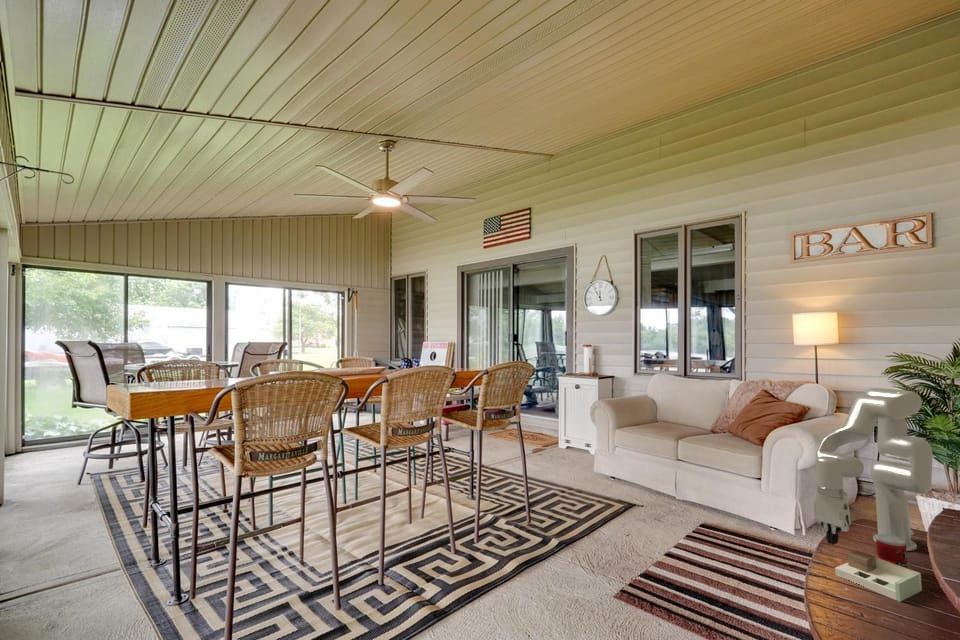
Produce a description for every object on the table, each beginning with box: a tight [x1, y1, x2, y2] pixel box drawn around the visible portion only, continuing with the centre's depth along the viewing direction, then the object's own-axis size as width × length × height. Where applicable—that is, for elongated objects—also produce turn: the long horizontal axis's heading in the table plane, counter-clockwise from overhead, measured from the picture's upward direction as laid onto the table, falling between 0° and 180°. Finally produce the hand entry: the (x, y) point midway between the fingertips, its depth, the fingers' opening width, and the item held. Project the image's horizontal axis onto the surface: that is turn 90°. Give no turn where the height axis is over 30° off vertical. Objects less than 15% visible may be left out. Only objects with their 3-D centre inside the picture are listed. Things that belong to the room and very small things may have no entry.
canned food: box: [875, 534, 909, 569], centre depth 160 cm, size 8×8×11 cm
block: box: [847, 550, 876, 573], centre depth 159 cm, size 6×6×4 cm
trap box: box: [834, 556, 923, 603], centre depth 154 cm, size 13×18×6 cm
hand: (832, 543), depth 167 cm, fingers closed
